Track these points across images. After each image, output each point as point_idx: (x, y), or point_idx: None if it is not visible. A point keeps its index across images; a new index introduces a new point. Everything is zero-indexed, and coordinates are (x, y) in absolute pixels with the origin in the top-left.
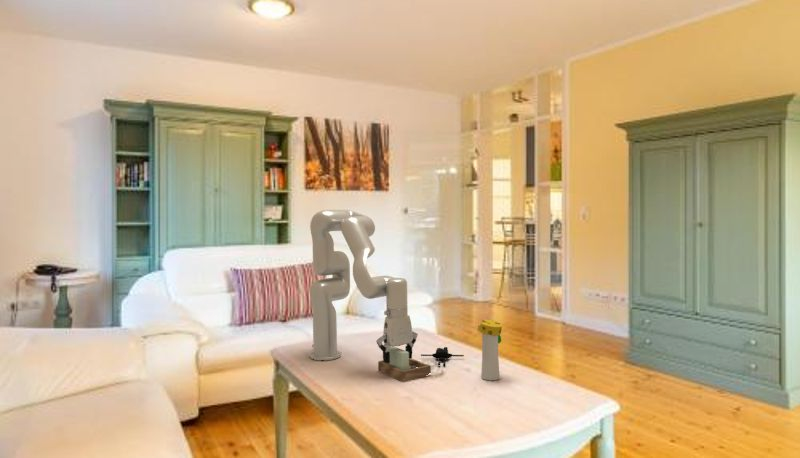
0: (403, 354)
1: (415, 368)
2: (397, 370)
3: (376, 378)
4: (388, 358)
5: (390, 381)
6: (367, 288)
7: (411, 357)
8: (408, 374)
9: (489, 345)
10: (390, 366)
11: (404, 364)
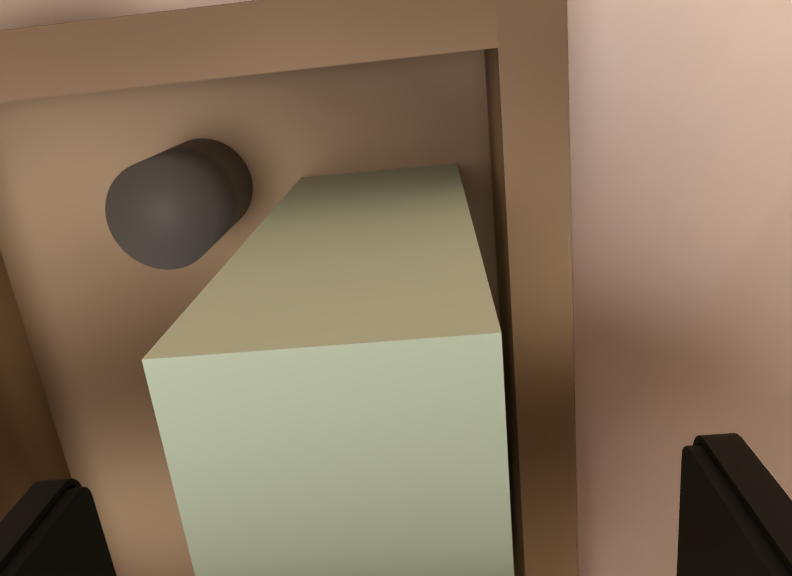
0: (415, 318)
1: (176, 61)
2: (568, 203)
3: (775, 392)
4: (788, 499)
5: (688, 151)
6: None
7: (46, 483)
8: None
9: None
10: (569, 457)
11: (393, 217)
